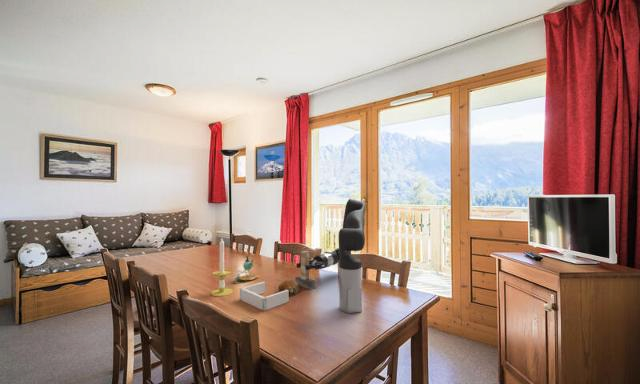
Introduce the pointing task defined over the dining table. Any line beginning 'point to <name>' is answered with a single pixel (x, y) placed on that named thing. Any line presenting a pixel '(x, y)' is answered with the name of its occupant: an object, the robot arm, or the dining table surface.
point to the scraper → (305, 273)
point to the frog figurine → (246, 266)
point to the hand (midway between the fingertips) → (301, 266)
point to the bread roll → (289, 286)
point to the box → (263, 303)
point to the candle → (221, 275)
